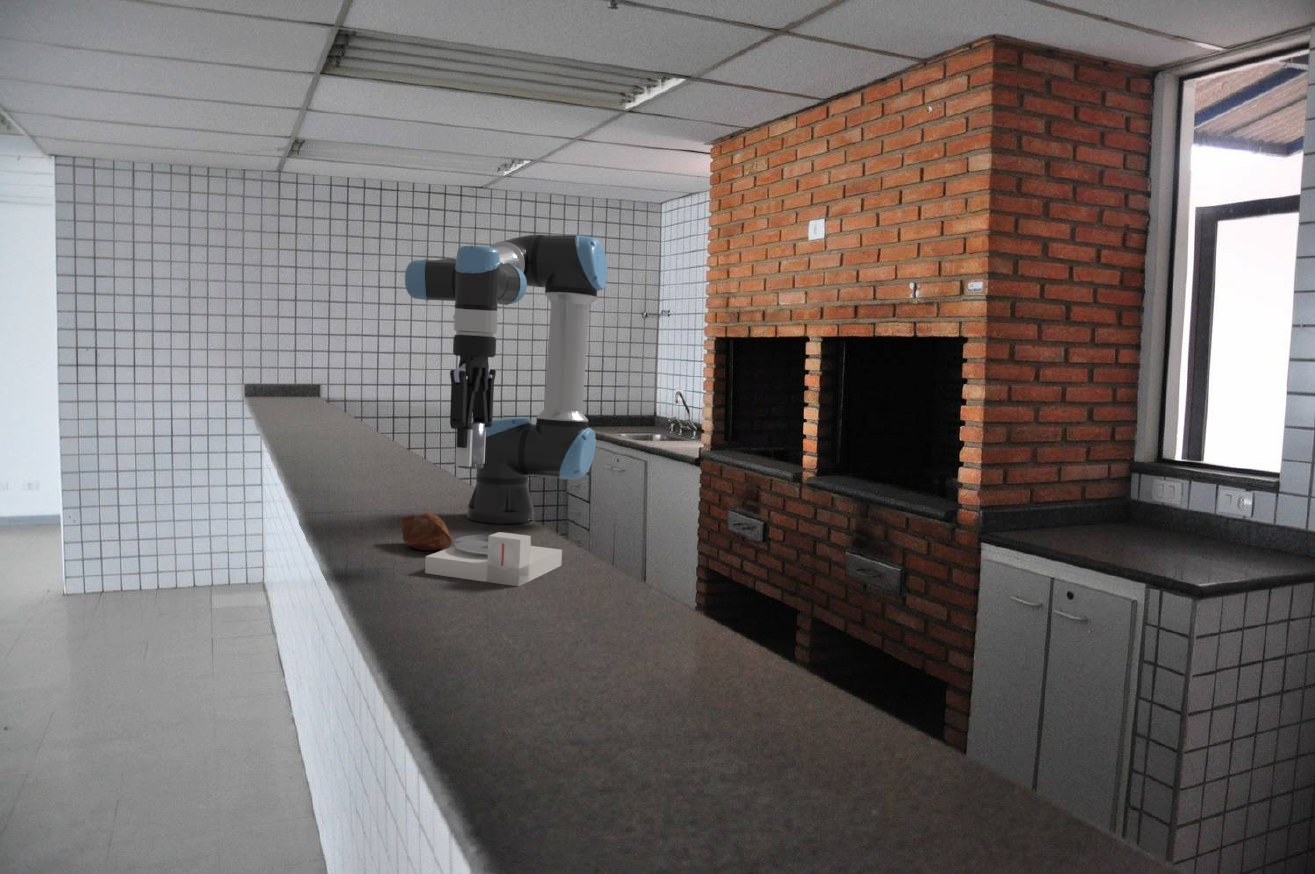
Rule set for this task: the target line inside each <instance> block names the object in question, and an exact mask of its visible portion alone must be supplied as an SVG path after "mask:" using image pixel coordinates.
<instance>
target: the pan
mask: <svg viewBox="0 0 1315 874" xmlns="http://www.w3.org/2000/svg"><path fill="white" fill-rule="evenodd" d="M490 535H491V534H473V535H471V534H470V535H465V536H461V537H458V538H456V539H454V540H453V543H452V544H453V546H452V547H454V548H455V549H457V550H459V551H462V552H467V553H472V554H481V555H488V536H490ZM531 546H532V541H531V542H530V549H531Z"/></svg>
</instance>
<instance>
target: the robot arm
mask: <svg viewBox="0 0 1315 874" xmlns="http://www.w3.org/2000/svg"><path fill="white" fill-rule="evenodd" d="M607 281H608V262H607V255H606V252H605V250H604V246H603V245H602V243H601V242H600V241H599V239H597V238H595V237H592V236H586V235H579V234H576V235H567V234H565V235H563V234H559V235H558V234H529V235H527V234H526V235H523V236H518V237H513V238H510V239H507V240H506V239H505V240H503V241H497V242H495V243H493V244H492V245H491V246H485V245H484V246H483V245H462V246H460V247H459V248H457V252H456V255H455V256H450V257H446V258H439V259H427V258H425V259H424V258H423V259H414V260H412V261H410V262H409V263H408V265H407V266H406V270H405V273H404V285H405V289H406V291H407V294H408V295H409V296H410V298H413V299H414V300H416V299H417V300H425V301H428V302H429V301H449V302H454V314H453V316H452V318H453V320H454V322H453V323H454V326H453V330H454V331H455V332H457V333H456V334H454V336H453V338H452V340H453V341H452V342H453V343H452V344H453V345H452V346H453V347H452V353H453V355H454V356H457V357H459V363H458V368H457V369H451V370H450V371H449V378H450V383H451V384H450V385H451V387H450V412H449V413H450V414H449V415H450V416H449V424H450V428H451V429H454V430H456V440H455V445H456V447H455V466H457V467H458V466H467V467H470V466H471V460H472V433H473V430H469V429H470V425H471V422H482V423H485V439H484V465H483V468H480V469H476V479H475V480H476V481H475V486H474V488H473V489H474V490H473V491H472V495H471V497H470V500H469V503H468V505H467V511H466V517H467V519H468V520H470V521H474V522H478V523H486V524H498V525H499V524H500V525H504V524H506V525H509V524H511V525H513V524H522V523H523V524H524V523H529V522H530V521H529V520H528V519H530V520H532V521H533V520H534V519H535V518H534V516H535V509H534V505H533V502H532V498H531V494H530V490H529V486H528V481H529V480H528V479H529V478H528V476H530V477H531V476H533V477H541V478H552V479H560V480H579V479H581V478H583V477H584V476H585V475H587V473H588V471H589V470H590V468H591V466H592V463H593V460H594V457H595V451H596V446H597V439H596V431H594V430H593V429H592V428H591V427H589V419H588V418H587V417H586V416H585V415H584V412H583V406H584V391H585V378H586V364H587V363H586V362H587V361H586V360H587V347H588V334H589V333H588V331H589V320H590V319H589V318H590V306H591V305H592V304H593V303H594V302H595V301H596V300H597V299H598V298H597V297H598V292H599V291H602V290H604V289H605V288H606V286H607ZM527 287H534V288H544V296H545V297H546V298H547V299H548V301H549V302H550V314H549V328H548V329H549V330H548V331H549V332H548V341H547V342H548V344H547V357H546V358H547V360H546V373H545V374H546V376H545V386H544V387H545V389H544V403H543V410H542V412H540V413H539V414H538V415H537V416H536V421H535V424H534V423H532V421H531V419H530V417H528V416H527V417H526V416H522V417H520V416H519V417H506V418H495V419H493V414H494V394H495V392H494V390H495V380H496V373H497V372H496V369H492V368H491V369H490V367H489V358H495V356H496V355H497V352H496V351H497V338H496V337H495V336H494V334H497V332H498V305H505V306H508V305H513V304H515V303H518V302H519V301H521V300H522V299H523V297H525V295H526V292H527Z"/></svg>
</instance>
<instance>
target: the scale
mask: <svg viewBox="0 0 1315 874" xmlns="http://www.w3.org/2000/svg"><path fill="white" fill-rule="evenodd" d="M489 535H490V536H488V555H481V554H472V553H467V552H462V551H459V550H457V549H455V548H454V547H453V546H450V547H448V548H446V549H441V550H439V551H437V552H435V553H431V554H428V555H426V556H425V564H424V574H428V575H437V576H441V577H443V576H444V577H450V578H456V579H463V580H470V581H471V580H472V581H479V582H483V583H492V584H499V585H505V586H514V587H520V586H522V585H524V584H526V583H529V582H531V581H533V580H535V579H537V578H539V577H541V576H543V575H545V574H547V573H549V572H551V571H553V570H555V569H557V568H559V567H562V561H563V559H562V558H563V557H562V556H563V549H560V548H551V547H543V546H535V545H531V549H530V542H531V543H532V541H531V537H532V535H526V534H519V533H518V534H517V533H509V532H503V531H502V532H501V531H499V532H495V533H493V534H489Z"/></svg>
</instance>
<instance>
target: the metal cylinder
mask: <svg viewBox="0 0 1315 874" xmlns="http://www.w3.org/2000/svg"><path fill="white" fill-rule="evenodd" d="M469 430H473V433H472V460H471V466H470V467H467V466H457V468H460V469H466V470H467V469H469V470H477V469H480V468H483V465H484V439H485V423H482V422H473V421H471V425H470V429H469Z"/></svg>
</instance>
